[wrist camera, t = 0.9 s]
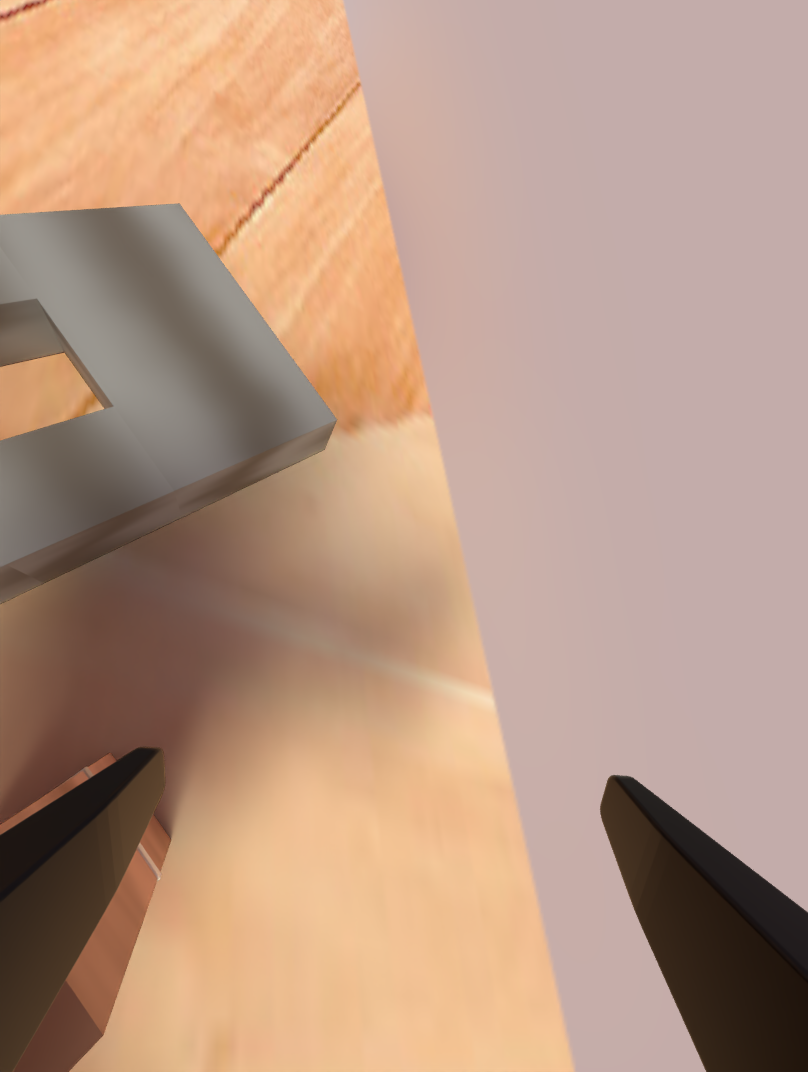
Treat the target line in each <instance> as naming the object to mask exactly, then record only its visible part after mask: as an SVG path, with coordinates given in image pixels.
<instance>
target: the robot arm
mask: <svg viewBox="0 0 808 1072" xmlns="http://www.w3.org/2000/svg"><path fill="white" fill-rule="evenodd" d="M164 788H165V765H164V753H163V750H162V749H161V748H157V747H139V748H137V749H135V750H133V751H132V752H130V753H128V754H127V755H125V756H124V757H122V758H121V759H119V760H117V761H116V762H114V763H113V764H111V765H109V766H108V767H106V768H105V769H103V770H102V771H100V772H98V773H97V774H95V775H94V776H92V777H91V778H89V779H87V780H86V781H84V782H83V783H81V784H80V785H78V786H76V787H75V788H73V789H72V790H70V791H68V792H67V793H65V794H64V795H62V796H61V797H59V798H57V799H56V800H54V801H53V802H51V803H50V804H48V805H46V806H45V807H43V808H42V809H40V810H38V811H37V812H35V813H34V814H32V815H31V816H29V817H27V818H26V819H24V820H23V821H21V822H20V823H18V824H16V825H15V826H13V827H12V828H10V829H9V830H7V831H5V832H4V833H2V834H1V835H0V1072H13V1071H14V1069H15V1068H16V1066H17V1064H18V1062H19V1061H20V1059H21V1057H22V1055H23V1054H24V1052H25V1050H26V1048H27V1047H28V1045H29V1043H30V1041H31V1040H32V1038H33V1036H34V1034H35V1033H36V1031H37V1029H38V1027H39V1026H40V1024H41V1022H42V1021H43V1019H44V1017H45V1015H46V1014H47V1012H48V1010H49V1008H50V1007H51V1005H52V1003H53V1001H54V1000H55V998H56V996H57V994H58V993H59V991H60V989H61V987H62V986H63V984H64V982H65V980H66V979H67V977H68V975H69V974H70V972H71V970H72V968H73V967H74V965H75V963H76V961H77V960H78V958H79V956H80V954H81V953H82V951H83V949H84V947H85V946H86V944H87V942H88V940H89V939H90V937H91V935H92V934H93V932H94V930H95V928H96V927H97V925H98V923H99V921H100V920H101V918H102V916H103V914H104V913H105V911H106V909H107V907H108V906H109V904H110V902H111V900H112V898H113V896H114V895H115V893H116V891H117V889H118V887H119V885H120V883H121V881H122V879H123V877H124V875H125V873H126V871H127V869H128V866H129V864H130V862H131V860H132V858H133V856H134V854H135V852H136V850H137V847H138V845H139V843H140V841H141V839H142V837H143V835H144V833H145V830H146V828H147V826H148V824H149V822H150V820H151V818H152V816H153V814H154V811H155V809H156V807H157V805H158V803H159V801H160V799H161V797H162V794H163V791H164ZM600 812H601V818H602V822H603V824H604V827H605V830H606V833H607V836H608V838H609V841H610V844H611V847H612V850H613V852H614V855H615V858H616V861H617V863H618V866H619V869H620V872H621V875H622V877H623V880H624V883H625V886H626V889H627V891H628V894H629V897H630V899H631V902H632V905H633V907H634V910H635V912H636V915H637V917H638V919H639V922H640V924H641V926H642V929H643V931H644V933H645V935H646V938H647V940H648V942H649V945H650V947H651V949H652V951H653V953H654V956H655V958H656V960H657V962H658V965H659V967H660V969H661V971H662V974H663V976H664V978H665V980H666V983H667V985H668V987H669V989H670V992H671V994H672V996H673V998H674V1000H675V1003H676V1005H677V1007H678V1009H679V1011H680V1014H681V1016H682V1018H683V1021H684V1023H685V1025H686V1027H687V1029H688V1032H689V1034H690V1036H691V1038H692V1041H693V1043H694V1045H695V1048H696V1050H697V1052H698V1054H699V1056H700V1059H701V1061H702V1063H703V1065H704V1068H705V1070H706V1072H808V912H807V911H805V910H804V909H803V908H801V907H800V906H799V905H798V904H796V903H795V902H794V901H792V900H791V899H789V898H788V897H787V896H786V895H784V894H783V893H782V892H781V891H779V890H778V889H777V888H776V887H774V886H773V885H772V884H770V883H769V882H768V881H766V880H765V879H764V878H762V877H761V876H760V875H759V874H757V873H756V872H755V871H753V870H752V869H751V868H750V867H748V866H747V865H745V864H744V863H743V862H742V861H740V860H739V859H738V858H737V857H735V856H734V855H733V854H731V853H730V852H729V851H727V850H726V849H725V848H724V847H722V846H721V845H720V844H718V843H717V842H716V841H715V840H713V839H712V838H711V837H709V836H708V835H706V834H705V833H704V832H703V831H701V830H700V829H699V828H698V827H696V826H695V825H694V824H692V823H691V822H690V821H689V820H687V819H686V818H685V817H683V816H682V815H681V814H679V813H678V812H677V811H676V810H674V809H673V808H672V807H670V806H669V805H668V804H666V803H665V802H664V801H663V800H661V799H660V798H659V797H657V796H656V795H654V793H652V792H651V791H650V790H648V789H647V788H646V787H644V786H643V785H642V784H640V783H639V782H638V781H637V780H635V779H634V778H632V777H629V776H620V775H612V776H610V777H609V778H608V781H607V784H606V787H605V791H604V795H603V798H602V802H601V806H600Z"/></svg>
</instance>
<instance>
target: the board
mask: <svg viewBox="0 0 808 1072" xmlns="http://www.w3.org/2000/svg"><path fill="white" fill-rule="evenodd" d="M62 352H65V354H66V355H67V357H68V358H69V359H70V361H71V362H72V364H73V365H74V366H75V368H76V369H77V371H78V372H79V373H80V375H81V376H82V378H83V379H84V380H85V382H86V383H87V385H88V386H89V387H90V389H91V390H92V392H93V393H94V394H95V396H96V397H97V399H98V400H99V402H100V403H101V404H102V406H103V407H104V409H103V410H100V411H97V412H93V413H90V414H87V415H84V416H80V417H77V418H74V419H70V420H67V421H64V422H60V423H57V424H54V425H51V426H47V427H44V428H41V429H37V430H34V431H31V432H27V433H24V434H21V435H18V436H14V437H11V438H8V439H4V440H1V441H0V604H1V603H4V602H6V601H8V600H10V599H12V598H14V597H16V596H18V595H20V594H22V593H25V592H27V591H29V590H31V589H33V588H35V587H37V586H39V585H41V584H43V583H46V582H48V581H50V580H52V579H54V578H56V577H58V576H60V575H62V574H64V573H67V572H69V571H71V570H73V569H75V568H77V567H79V566H81V565H83V564H85V563H88V562H90V561H92V560H94V559H96V558H98V557H100V556H102V555H104V554H106V553H109V552H111V551H113V550H115V549H117V548H119V547H121V546H123V545H125V544H127V543H130V542H132V541H134V540H136V539H138V538H140V537H142V536H144V535H146V534H148V533H151V532H153V531H155V530H157V529H159V528H161V527H163V526H165V525H167V524H169V523H172V522H174V521H176V520H178V519H180V518H182V517H184V516H186V515H188V514H190V513H192V512H195V511H197V510H199V509H201V508H203V507H205V506H207V505H209V504H211V503H213V502H216V501H218V500H220V499H222V498H224V497H226V496H228V495H230V494H232V493H234V492H237V491H239V490H241V489H243V488H245V487H247V486H249V485H251V484H253V483H255V482H258V481H260V480H262V479H264V478H266V477H268V476H270V475H272V474H274V473H276V472H279V471H281V470H283V469H285V468H287V467H289V466H291V465H293V464H295V463H297V462H300V461H302V460H304V459H306V458H308V457H310V456H312V455H314V454H316V453H318V452H321V451H323V450H325V447H326V445H327V443H328V440H329V438H330V435H331V433H332V431H333V428H334V426H335V424H336V421H337V419H336V418H335V416H334V415H333V413H332V412H331V411H330V409H329V408H328V407H327V405H326V404H325V402H324V401H323V400H322V398H321V397H320V396H319V394H318V393H317V391H316V390H315V389H314V387H313V386H312V385H311V383H310V382H309V380H308V379H307V378H306V376H305V375H304V374H303V372H302V371H301V370H300V368H299V367H298V365H297V364H296V363H295V361H294V360H293V359H292V357H291V356H290V354H289V353H288V352H287V350H286V349H285V348H284V346H283V345H282V343H281V342H280V341H279V339H278V338H277V337H276V335H275V334H274V333H273V331H272V330H271V328H270V327H269V326H268V324H267V323H266V322H265V320H264V319H263V317H262V316H261V315H260V313H259V312H258V311H257V309H256V308H255V306H254V305H253V304H252V302H251V301H250V300H249V298H248V297H247V296H246V294H245V293H244V291H243V290H242V289H241V287H240V286H239V285H238V283H237V282H236V280H235V279H234V278H233V276H232V275H231V274H230V272H229V271H228V269H227V268H226V267H225V265H224V264H223V263H222V261H221V260H220V258H219V257H218V256H217V254H216V253H215V252H214V250H213V249H212V248H211V246H210V245H209V243H208V242H207V241H206V239H205V238H204V237H203V235H202V234H201V232H200V231H199V230H198V228H197V227H196V226H195V224H194V223H193V221H192V220H191V219H190V217H189V216H188V215H187V213H186V212H185V211H184V209H183V208H182V206H181V205H180V204H164V205H148V206H133V207H117V208H101V209H85V210H70V211H54V212H38V213H22V214H7V215H0V366H4V365H8V364H13V363H17V362H22V361H26V360H31V359H35V358H39V357H44V356H48V355H53V354H57V353H62Z"/></svg>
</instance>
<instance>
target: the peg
mask: <svg viewBox="0 0 808 1072" xmlns="http://www.w3.org/2000/svg"><path fill="white" fill-rule="evenodd" d="M114 762H116V760H115V758H114V757H113V756H112V754H111V753H109V754H107V755H106V756H104V757H103V758H101V759H100V760H98V761H97V762H95V763H94V764H92V765H91V766H89V767H87V766H86V767H84V768H83V769H82V770H80V771H79V772H77V773H76V774H75V775H73V776H72V777H70V778H69V779H68V780H66V781H65V782H63V783H62V784H61V785H59V786H58V787H56V788H55V789H54V790H52V791H51V792H49V793H48V794H46V795H45V796H43V797H42V798H40V799H39V800H37V801H36V802H34V803H33V804H31V805H30V806H28V807H27V808H25V809H24V810H22V811H20V812H19V813H17V814H16V815H14V816H13V817H11V818H10V819H8V820H7V821H5V822H4V823H2V824H1V825H0V835H1V834H2V833H4V832H5V831H7V830H9V829H10V828H12V827H13V826H15V825H16V824H18V823H20V822H21V821H23V820H24V819H26V818H27V817H29V816H31V815H32V814H34V813H35V812H37V811H38V810H40V809H42V808H43V807H45V806H46V805H48V804H50V803H51V802H53V801H54V800H56V799H57V798H59V797H61V796H62V795H64V794H65V793H67V792H68V791H70V790H72V789H73V788H75V787H76V786H78V785H80V784H81V783H83V782H84V781H86V780H87V779H89V778H91V777H92V776H94V775H95V774H97V773H98V772H100V771H102V770H103V769H105V768H106V767H108V766H109V765H111V764H113V763H114ZM170 842H171V839H170V838H169V836H168V835H167V833H166V832H165V831H164V829H163V828H162V826H161V825H160V823H159V822H158V820H157V819H156V818H155V816H154V815H153V816H152V818H151V820H150V822H149V824H148V826H147V828H146V830H145V833H144V835H143V837H142V839H141V841H140V843H139V845H138V847H137V850H136V852H135V854H134V856H133V858H132V860H131V862H130V864H129V866H128V869H127V871H126V873H125V875H124V877H123V879H122V881H121V883H120V885H119V887H118V889H117V891H116V893H115V895H114V896H113V898H112V900H111V902H110V904H109V906H108V907H107V909H106V911H105V913H104V914H103V916H102V918H101V920H100V921H99V923H98V925H97V927H96V928H95V930H94V932H93V934H92V935H91V937H90V939H89V940H88V942H87V944H86V946H85V947H84V949H83V951H82V953H81V954H80V956H79V958H78V960H77V961H76V963H75V965H74V967H73V968H72V970H71V972H70V974H69V975H68V977H67V979H66V980H65V982H64V984H63V986H62V987H61V989H60V991H59V993H58V994H57V996H56V998H55V1000H54V1001H53V1003H52V1005H51V1007H50V1008H49V1010H48V1012H47V1014H46V1015H45V1017H44V1019H43V1021H42V1022H41V1024H40V1026H39V1027H38V1029H37V1031H36V1033H35V1034H34V1036H33V1038H32V1040H31V1041H30V1043H29V1045H28V1047H27V1048H26V1050H25V1052H24V1054H23V1055H22V1057H21V1059H20V1061H19V1062H18V1064H17V1066H16V1068H15V1069H14V1071H13V1072H69V1071H70V1070H71V1069H72V1068H73V1066H74V1065H75V1064H76V1063H77V1062H78V1061H79V1060H80V1059H81V1058H82V1057H83V1056H84V1055H85V1054H86V1053H87V1052H88V1051H89V1050H90V1049H91V1048H92V1047H93V1045H94V1044H95V1043H96V1042H97V1041H98V1040H99V1039H100V1038H101V1037H102V1036H103V1035H104V1032H105V1029H106V1026H107V1023H108V1020H109V1017H110V1014H111V1012H112V1009H113V1006H114V1003H115V1000H116V997H117V994H118V992H119V989H120V986H121V983H122V980H123V977H124V974H125V971H126V969H127V966H128V963H129V960H130V957H131V954H132V951H133V948H134V946H135V943H136V940H137V937H138V934H139V931H140V928H141V926H142V923H143V920H144V917H145V914H146V911H147V908H148V905H149V903H150V900H151V897H152V894H153V891H154V888H155V885H156V882H157V881H158V880H160V878H161V875H162V874H161V872H160V871H161V868H162V865H163V862H164V860H165V857H166V854H167V851H168V848H169V845H170Z"/></svg>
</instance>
